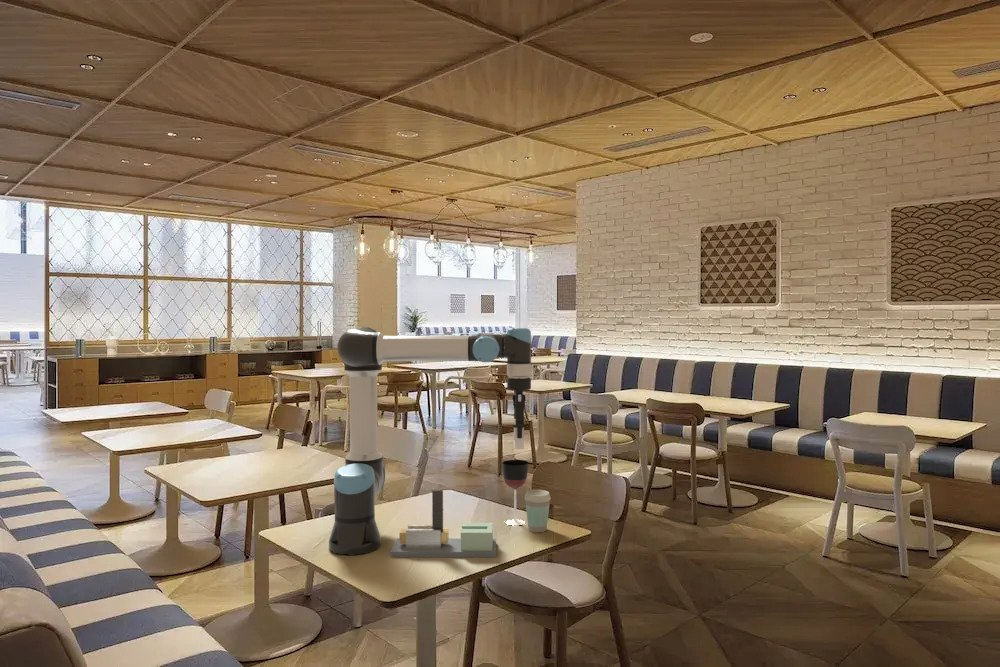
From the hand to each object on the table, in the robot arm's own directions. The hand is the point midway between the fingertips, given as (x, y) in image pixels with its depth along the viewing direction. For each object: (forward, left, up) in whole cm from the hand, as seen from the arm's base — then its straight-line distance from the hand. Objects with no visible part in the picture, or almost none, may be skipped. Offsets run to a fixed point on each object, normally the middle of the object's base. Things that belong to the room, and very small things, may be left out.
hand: (518, 444), depth 210 cm
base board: (-22, -16, -28) cm, 39 cm away
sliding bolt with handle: (-28, -16, -25) cm, 41 cm away
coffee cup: (+6, +2, -28) cm, 29 cm away
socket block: (-12, -16, -26) cm, 33 cm away
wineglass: (-1, +9, -28) cm, 29 cm away
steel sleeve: (-28, -16, -26) cm, 42 cm away
